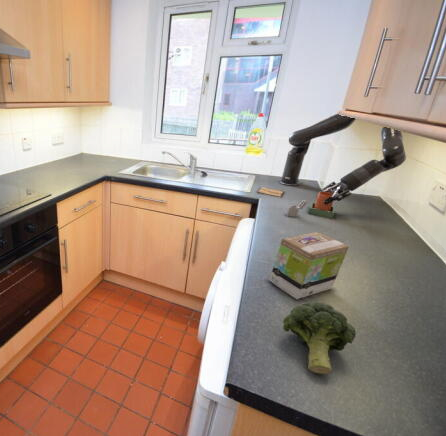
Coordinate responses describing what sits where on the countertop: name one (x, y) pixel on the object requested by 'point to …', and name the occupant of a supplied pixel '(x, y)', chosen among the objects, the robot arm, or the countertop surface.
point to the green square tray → (322, 211)
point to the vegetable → (320, 332)
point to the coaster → (270, 192)
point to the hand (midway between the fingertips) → (320, 200)
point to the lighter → (295, 209)
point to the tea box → (307, 264)
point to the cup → (320, 199)
